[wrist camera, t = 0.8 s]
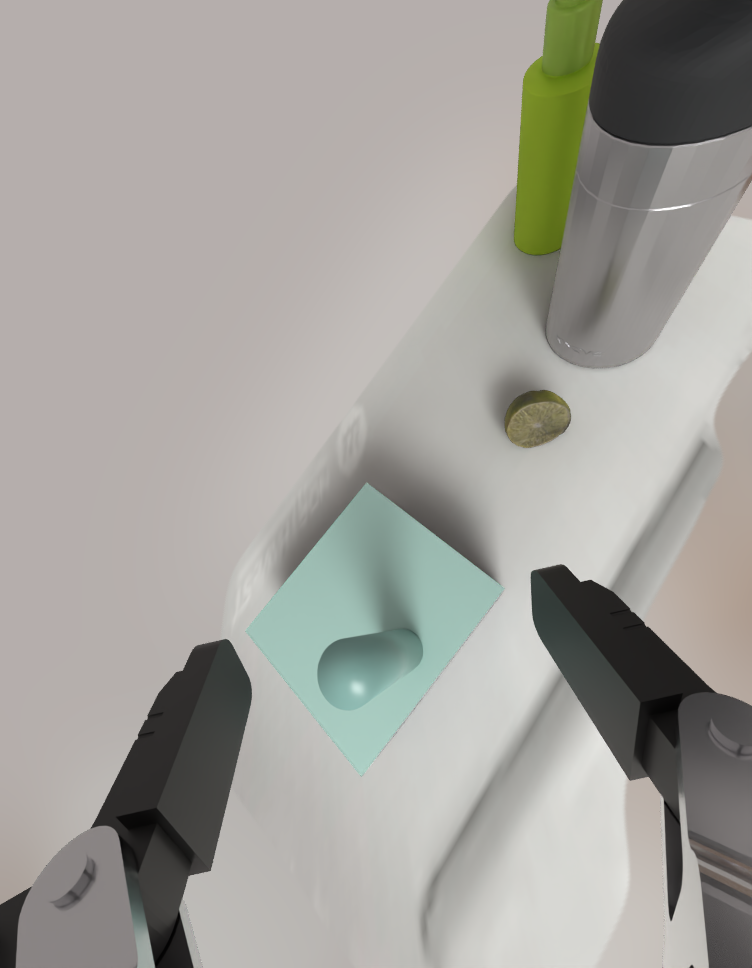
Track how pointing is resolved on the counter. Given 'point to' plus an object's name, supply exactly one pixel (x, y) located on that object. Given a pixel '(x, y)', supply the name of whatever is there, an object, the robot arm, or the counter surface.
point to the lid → (371, 622)
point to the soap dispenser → (554, 123)
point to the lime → (536, 418)
